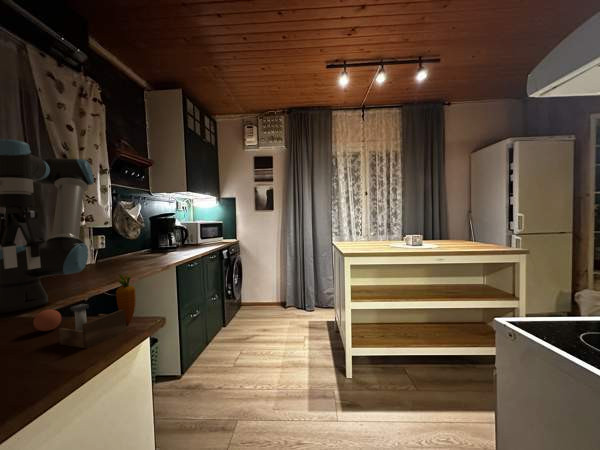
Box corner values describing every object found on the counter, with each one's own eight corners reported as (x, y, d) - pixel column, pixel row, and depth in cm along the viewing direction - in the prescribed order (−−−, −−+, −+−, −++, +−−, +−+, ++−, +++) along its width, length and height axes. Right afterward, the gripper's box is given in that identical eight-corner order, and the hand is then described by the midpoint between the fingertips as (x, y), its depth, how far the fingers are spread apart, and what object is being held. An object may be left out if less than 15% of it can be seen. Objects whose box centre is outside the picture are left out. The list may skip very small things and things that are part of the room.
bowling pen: (60, 344, 71) (58, 321, 71) (101, 327, 81) (99, 307, 81) (86, 348, 68) (84, 324, 67) (126, 330, 78) (124, 309, 78)
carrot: (140, 323, 82) (136, 273, 82) (120, 329, 79) (116, 277, 78) (135, 319, 86) (131, 271, 85) (116, 324, 82) (112, 274, 82)
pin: (73, 336, 75) (70, 307, 75) (83, 332, 78) (81, 303, 77) (80, 337, 74) (77, 307, 74) (90, 333, 77) (88, 304, 76)
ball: (40, 328, 82) (39, 308, 82) (65, 324, 84) (64, 305, 84) (29, 336, 76) (27, 315, 76) (56, 332, 79) (55, 311, 78)
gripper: (-25, 195, 82) (-18, 270, 83) (24, 190, 75) (31, 271, 75) (9, 196, 89) (14, 265, 90) (56, 191, 82) (62, 266, 82)
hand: (22, 268), depth 83 cm, fingers open, 10 cm apart
